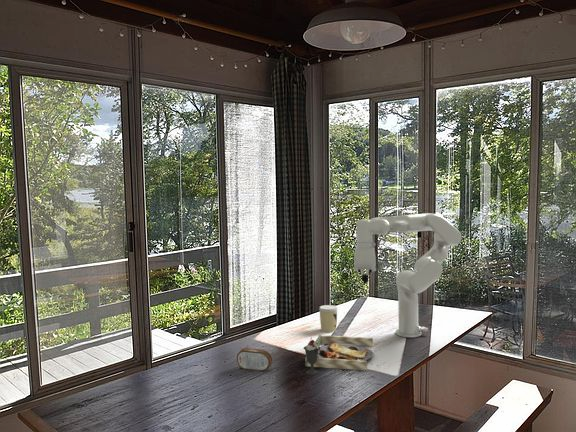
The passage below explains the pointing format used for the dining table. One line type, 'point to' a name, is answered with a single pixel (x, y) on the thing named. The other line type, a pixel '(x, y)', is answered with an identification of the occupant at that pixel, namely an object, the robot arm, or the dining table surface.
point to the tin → (254, 359)
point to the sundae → (312, 356)
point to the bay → (341, 362)
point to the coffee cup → (328, 318)
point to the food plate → (345, 352)
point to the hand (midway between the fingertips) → (365, 282)
